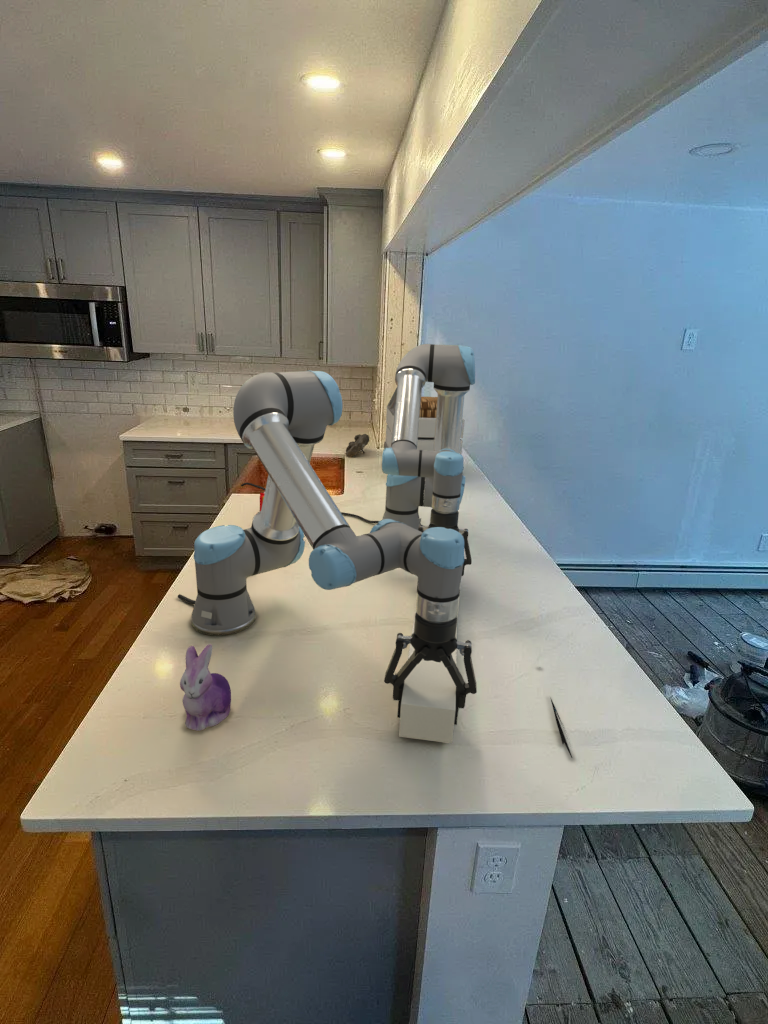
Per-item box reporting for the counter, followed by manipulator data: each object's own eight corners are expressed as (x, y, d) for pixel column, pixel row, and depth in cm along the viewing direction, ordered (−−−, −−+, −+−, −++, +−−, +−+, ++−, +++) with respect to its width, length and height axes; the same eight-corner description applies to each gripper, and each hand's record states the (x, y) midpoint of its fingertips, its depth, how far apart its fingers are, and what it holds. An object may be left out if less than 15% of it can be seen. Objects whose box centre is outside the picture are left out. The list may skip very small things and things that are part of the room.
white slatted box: (382, 463, 289) (386, 382, 275) (445, 464, 293) (451, 384, 279) (390, 482, 257) (394, 392, 243) (460, 483, 261) (468, 394, 247)
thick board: (422, 575, 167) (424, 552, 164) (455, 578, 166) (458, 555, 163) (398, 736, 104) (400, 703, 101) (451, 743, 103) (455, 710, 100)
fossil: (345, 440, 316) (366, 424, 311) (356, 453, 319) (377, 438, 314) (339, 453, 297) (361, 437, 292) (350, 467, 300) (373, 452, 295)
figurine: (187, 740, 102) (180, 669, 97) (178, 706, 110) (171, 639, 105) (239, 725, 106) (236, 656, 101) (227, 693, 115) (223, 628, 109)
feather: (540, 672, 128) (545, 666, 127) (572, 762, 101) (579, 755, 101) (533, 668, 128) (539, 662, 127) (564, 758, 101) (571, 750, 100)
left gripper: (370, 617, 98) (366, 722, 106) (501, 632, 96) (487, 737, 103) (377, 597, 105) (372, 696, 113) (498, 610, 103) (485, 710, 110)
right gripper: (402, 510, 151) (398, 585, 159) (487, 518, 148) (478, 593, 156) (405, 501, 158) (400, 573, 165) (486, 508, 155) (477, 581, 163)
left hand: (427, 716), depth 108 cm, fingers closed on thick board, 10 cm apart
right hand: (438, 583), depth 161 cm, fingers closed on thick board, 10 cm apart
